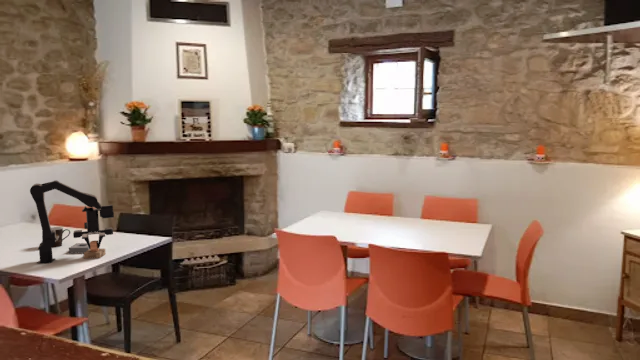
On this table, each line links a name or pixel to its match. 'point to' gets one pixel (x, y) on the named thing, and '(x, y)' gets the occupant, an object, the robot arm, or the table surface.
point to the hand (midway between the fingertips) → (94, 248)
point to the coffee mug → (59, 235)
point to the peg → (94, 246)
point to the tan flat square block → (94, 254)
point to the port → (79, 248)
